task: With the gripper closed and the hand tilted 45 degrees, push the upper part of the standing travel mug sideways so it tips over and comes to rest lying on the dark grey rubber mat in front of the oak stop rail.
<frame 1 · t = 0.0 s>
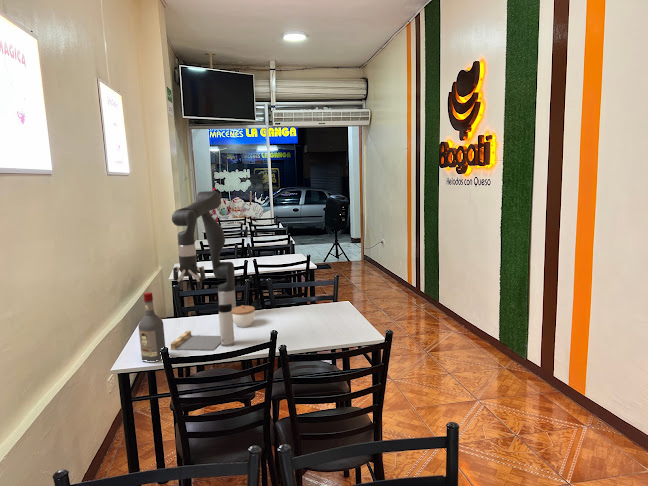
hand: (190, 289, 202), 29 cm above the table, tool pointing down, fingers open, 8 cm apart
mat: (202, 343, 215), on the table
rail: (181, 342, 216), on the table
lidded bowl: (244, 325, 240), on the table
travel mug: (227, 344, 212), on the table
liquor: (154, 358, 198), on the table
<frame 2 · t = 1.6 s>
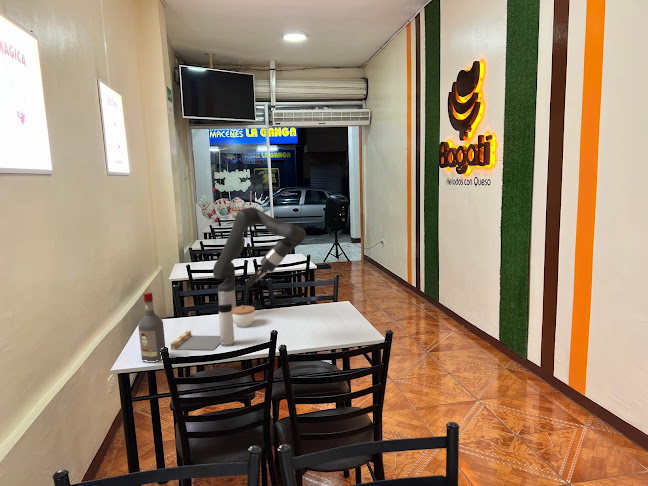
hand: (251, 283, 209), 29 cm above the table, tool tilted 45°, fingers open, 8 cm apart
nothing on the table moved.
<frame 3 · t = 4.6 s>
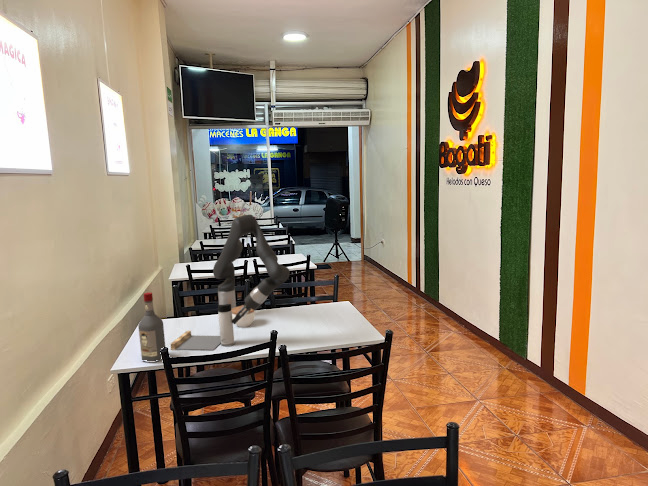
hand: (233, 322, 210), 11 cm above the table, tool tilted 45°, fingers closed
travel mug: (227, 344, 212), on the table, touching gripper
everything else where it was.
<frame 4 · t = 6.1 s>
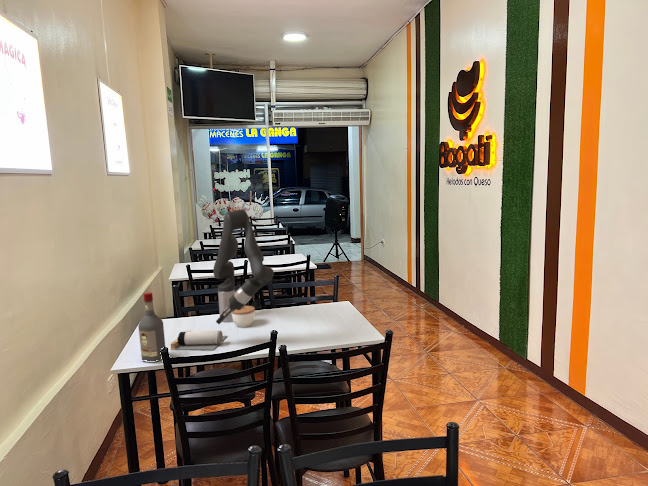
hand: (217, 322, 211), 11 cm above the table, tool tilted 45°, fingers closed
travel mug: (221, 337, 212), point 4 cm above the table, touching mat
everything else where it was.
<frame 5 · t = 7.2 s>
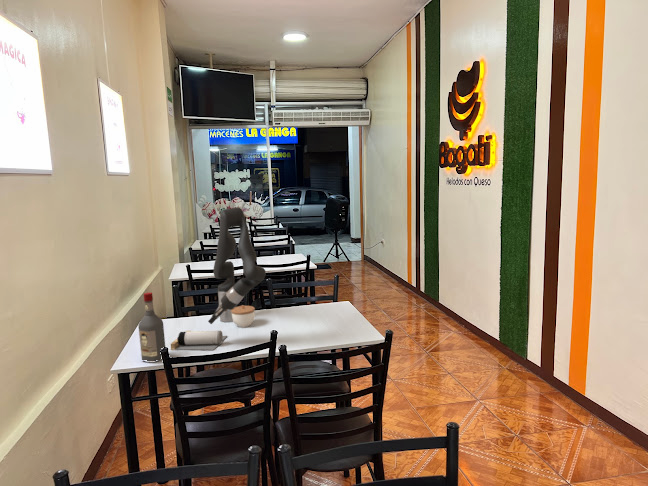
hand: (210, 322, 212), 11 cm above the table, tool tilted 45°, fingers closed
nothing on the table moved.
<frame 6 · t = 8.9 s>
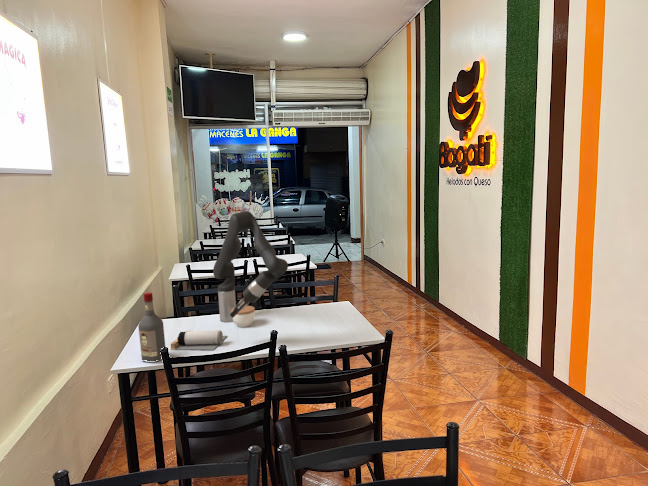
hand: (231, 316, 209), 14 cm above the table, tool tilted 45°, fingers closed
nothing on the table moved.
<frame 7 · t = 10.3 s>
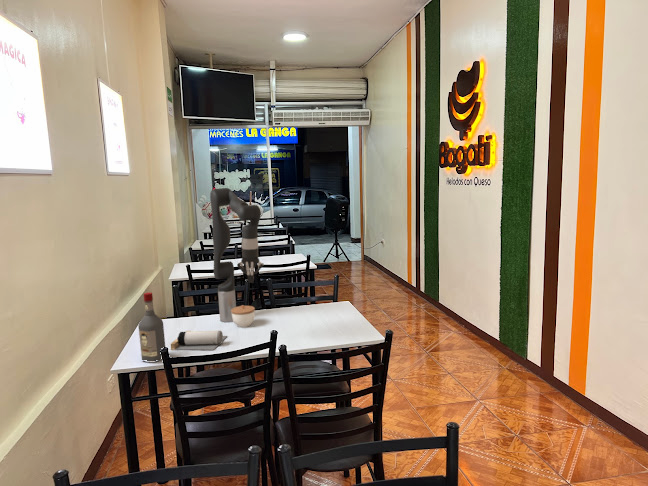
hand: (250, 282, 213), 29 cm above the table, tool pointing down, fingers closed
nothing on the table moved.
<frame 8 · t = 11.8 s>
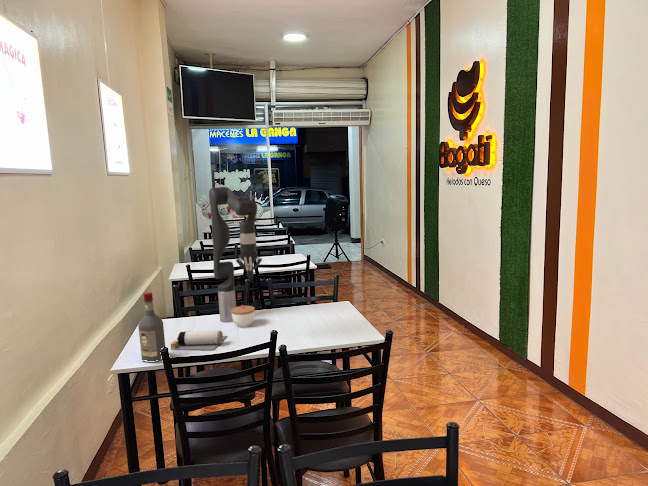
hand: (250, 277, 213), 31 cm above the table, tool pointing down, fingers closed
nothing on the table moved.
at the end: travel mug tilted 90°; travel mug inside the target area (7.6 cm from its centre), point 3.7 cm above the table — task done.
